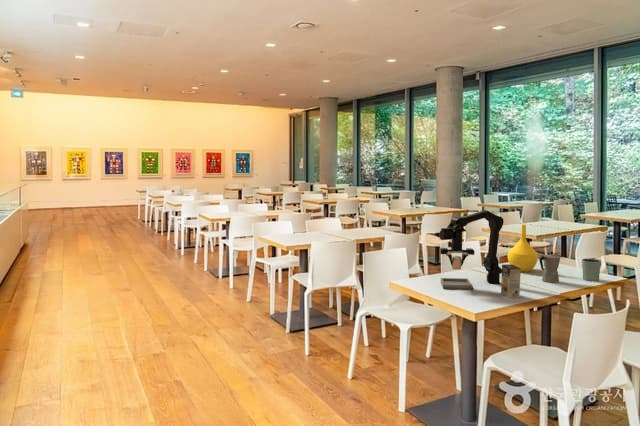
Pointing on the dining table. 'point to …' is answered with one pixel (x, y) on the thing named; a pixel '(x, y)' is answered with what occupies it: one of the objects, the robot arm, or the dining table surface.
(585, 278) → the grey plant pot
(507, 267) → the coffee box
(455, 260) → the shaker
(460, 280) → the tray
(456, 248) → the robot arm
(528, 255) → the vase
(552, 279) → the coffeepot
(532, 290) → the dining table surface
